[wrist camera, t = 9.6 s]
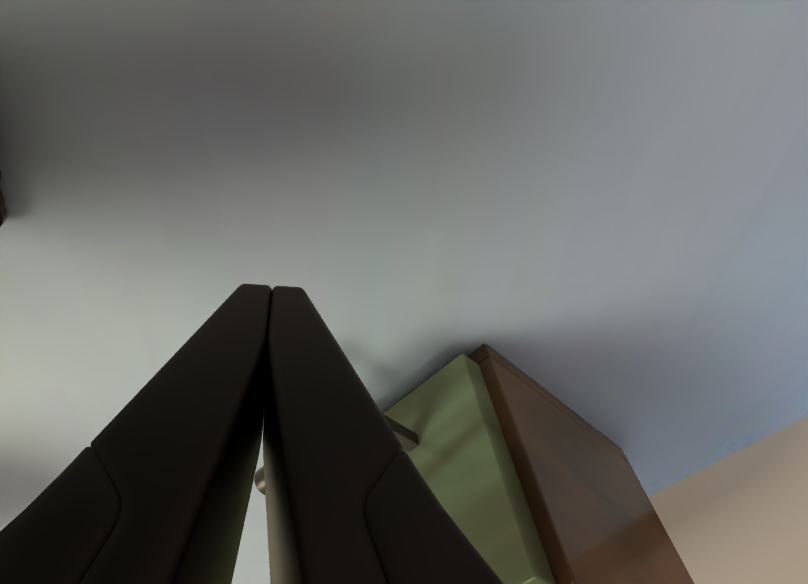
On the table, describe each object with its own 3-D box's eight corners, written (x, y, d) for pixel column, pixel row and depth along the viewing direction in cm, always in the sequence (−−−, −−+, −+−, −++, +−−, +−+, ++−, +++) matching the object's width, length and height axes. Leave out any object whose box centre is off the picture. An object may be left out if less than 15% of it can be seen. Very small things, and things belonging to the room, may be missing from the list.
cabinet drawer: (215, 462, 27) (184, 709, 19) (401, 307, 23) (454, 538, 15) (433, 557, 35) (472, 758, 27) (599, 453, 31) (699, 654, 23)
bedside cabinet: (291, 489, 31) (290, 764, 22) (484, 342, 26) (586, 609, 17) (447, 558, 37) (497, 791, 28) (622, 450, 33) (748, 683, 24)
